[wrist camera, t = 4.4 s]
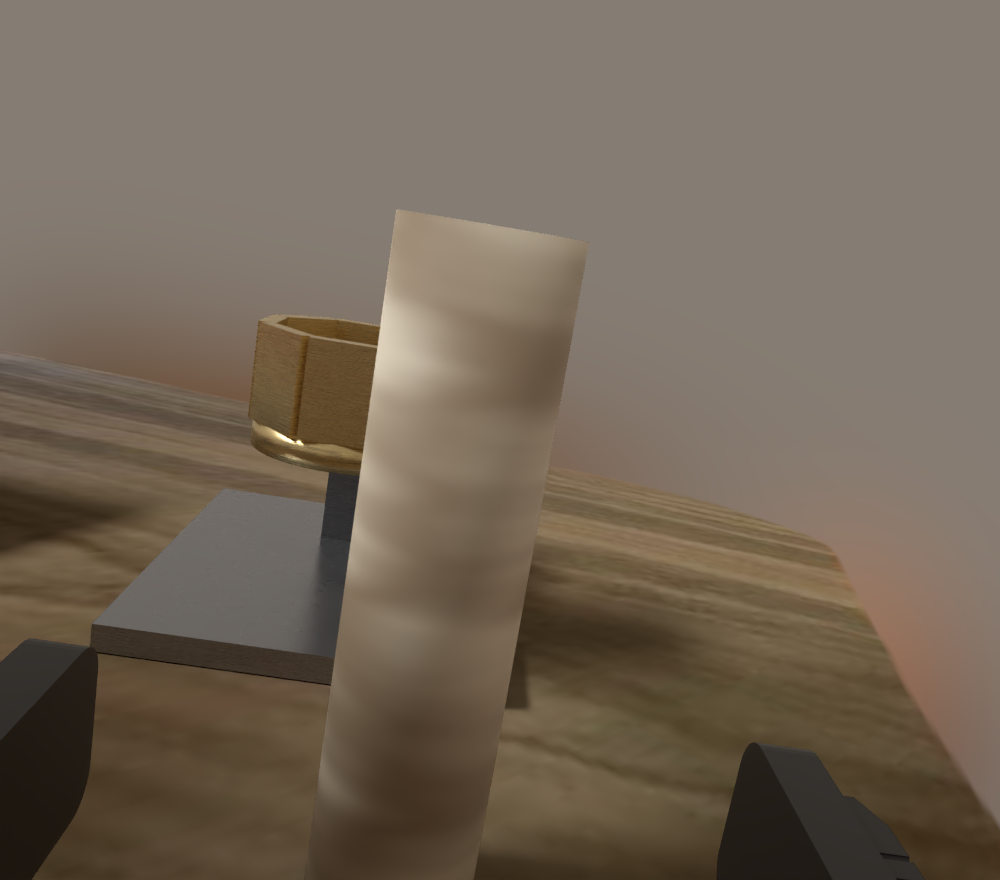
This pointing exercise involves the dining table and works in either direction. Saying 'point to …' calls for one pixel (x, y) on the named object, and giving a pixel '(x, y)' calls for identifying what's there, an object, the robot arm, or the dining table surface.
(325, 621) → the cup bracket
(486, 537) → the cylindrical post
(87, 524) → the dining table surface
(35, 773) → the robot arm
